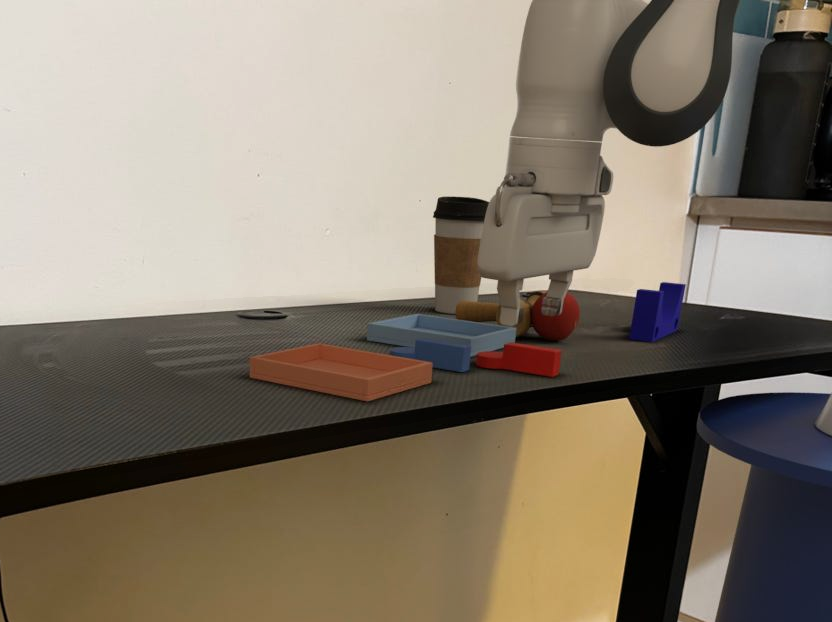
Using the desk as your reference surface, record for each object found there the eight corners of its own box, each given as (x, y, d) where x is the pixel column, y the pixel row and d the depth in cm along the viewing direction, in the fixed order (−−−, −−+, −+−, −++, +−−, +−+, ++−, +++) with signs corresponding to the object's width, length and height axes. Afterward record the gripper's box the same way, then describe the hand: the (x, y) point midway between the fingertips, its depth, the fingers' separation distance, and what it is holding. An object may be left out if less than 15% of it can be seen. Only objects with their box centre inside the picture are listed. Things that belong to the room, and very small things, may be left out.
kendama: (439, 336, 128) (554, 337, 115) (444, 286, 126) (560, 281, 114) (476, 342, 133) (588, 343, 121) (480, 293, 131) (595, 290, 119)
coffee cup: (473, 306, 145) (483, 197, 138) (492, 315, 137) (503, 200, 131) (419, 306, 143) (426, 195, 136) (435, 315, 136) (444, 198, 129)
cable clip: (644, 326, 134) (652, 280, 131) (677, 330, 132) (685, 284, 129) (617, 337, 125) (625, 288, 122) (652, 342, 123) (660, 292, 120)
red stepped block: (562, 373, 102) (566, 348, 101) (548, 378, 100) (551, 353, 99) (485, 361, 107) (488, 336, 106) (469, 365, 105) (472, 340, 103)
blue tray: (514, 344, 117) (516, 327, 116) (469, 357, 109) (471, 339, 108) (416, 329, 124) (417, 313, 123) (366, 340, 116) (367, 323, 115)
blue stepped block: (473, 369, 103) (476, 344, 102) (457, 374, 100) (459, 348, 99) (401, 356, 108) (402, 332, 106) (383, 361, 105) (384, 336, 104)
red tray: (431, 382, 96) (433, 362, 95) (367, 401, 88) (368, 379, 87) (318, 362, 103) (318, 342, 102) (249, 377, 95) (249, 357, 94)
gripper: (532, 175, 85) (512, 336, 91) (620, 175, 100) (597, 314, 106) (470, 170, 88) (454, 326, 94) (564, 171, 103) (545, 306, 109)
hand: (531, 320), depth 100 cm, fingers open, 8 cm apart
